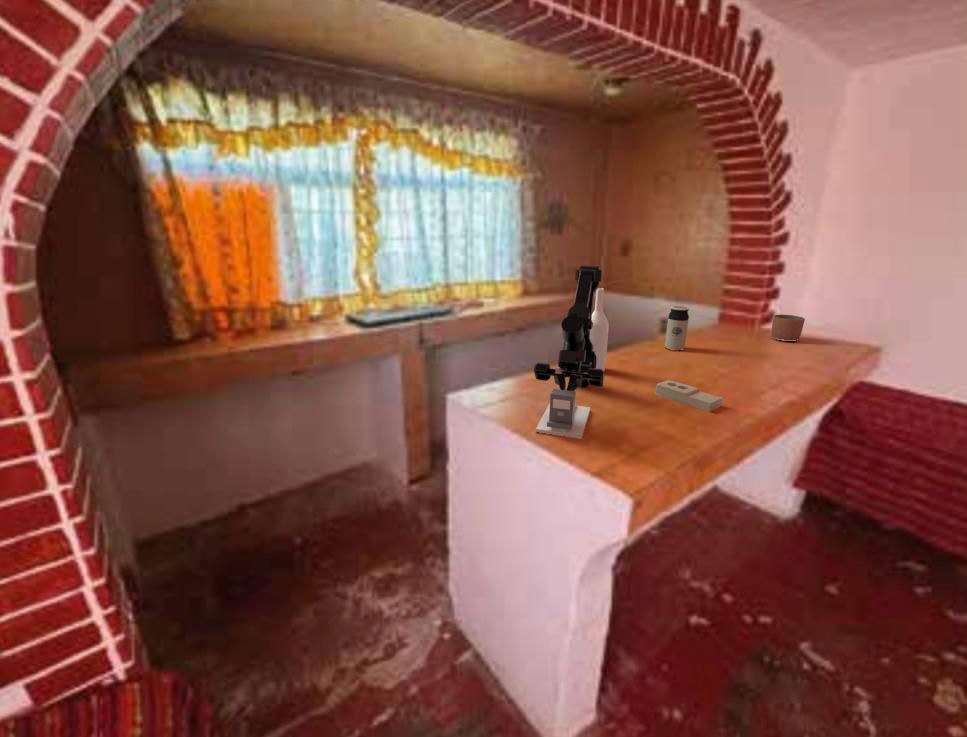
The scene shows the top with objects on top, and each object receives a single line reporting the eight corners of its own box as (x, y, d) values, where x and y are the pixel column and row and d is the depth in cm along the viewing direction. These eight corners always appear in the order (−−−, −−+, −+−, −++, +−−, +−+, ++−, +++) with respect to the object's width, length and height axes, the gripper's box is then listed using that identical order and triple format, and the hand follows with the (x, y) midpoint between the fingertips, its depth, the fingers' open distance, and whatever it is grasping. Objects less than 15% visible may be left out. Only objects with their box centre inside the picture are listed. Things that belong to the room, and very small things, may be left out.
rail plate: (549, 405, 146) (550, 396, 145) (590, 410, 143) (591, 401, 142) (535, 432, 128) (536, 421, 127) (581, 439, 124) (582, 428, 124)
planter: (799, 344, 218) (804, 321, 215) (768, 341, 224) (772, 317, 221) (800, 339, 228) (805, 316, 224) (770, 335, 234) (774, 313, 231)
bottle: (578, 367, 183) (584, 287, 174) (596, 365, 186) (603, 286, 176) (590, 373, 176) (597, 290, 166) (609, 371, 178) (616, 289, 169)
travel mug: (667, 345, 215) (672, 305, 209) (686, 348, 210) (692, 307, 205) (662, 349, 209) (667, 307, 203) (681, 352, 204) (687, 310, 199)
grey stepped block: (710, 400, 141) (656, 383, 155) (708, 413, 143) (654, 395, 156) (722, 394, 146) (668, 379, 159) (720, 407, 147) (667, 390, 160)
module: (551, 418, 132) (553, 388, 130) (573, 421, 130) (575, 391, 128) (548, 424, 128) (550, 394, 126) (571, 427, 126) (573, 397, 124)
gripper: (536, 334, 133) (525, 385, 126) (606, 340, 127) (599, 393, 120) (541, 354, 142) (531, 402, 136) (606, 361, 137) (599, 411, 130)
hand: (563, 402), depth 130 cm, fingers closed, pressing on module
